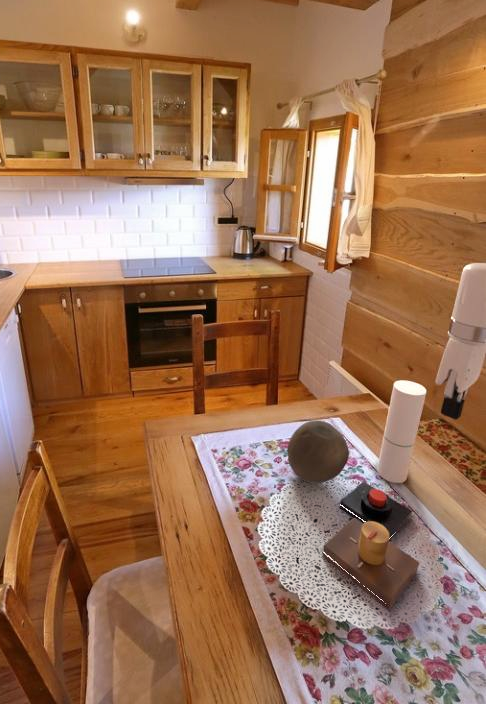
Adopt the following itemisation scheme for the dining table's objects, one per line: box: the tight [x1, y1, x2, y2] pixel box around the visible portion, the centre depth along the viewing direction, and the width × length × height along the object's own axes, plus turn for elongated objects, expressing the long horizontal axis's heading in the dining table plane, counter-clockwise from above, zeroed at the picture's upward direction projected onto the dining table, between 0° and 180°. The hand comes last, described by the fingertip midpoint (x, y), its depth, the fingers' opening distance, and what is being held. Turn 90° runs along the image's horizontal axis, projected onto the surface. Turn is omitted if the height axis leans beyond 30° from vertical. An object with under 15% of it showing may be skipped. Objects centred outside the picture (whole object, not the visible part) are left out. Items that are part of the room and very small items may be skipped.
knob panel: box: [321, 518, 420, 611], centre depth 79 cm, size 14×11×3 cm
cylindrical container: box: [376, 379, 427, 484], centre depth 101 cm, size 7×7×25 cm
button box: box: [338, 481, 413, 542], centre depth 91 cm, size 12×10×4 cm
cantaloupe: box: [286, 419, 350, 484], centre depth 100 cm, size 14×14×15 cm
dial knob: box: [357, 521, 390, 565], centre depth 78 cm, size 5×5×6 cm
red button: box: [368, 488, 387, 507], centre depth 90 cm, size 4×4×2 cm
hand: (450, 415), depth 82 cm, fingers closed
